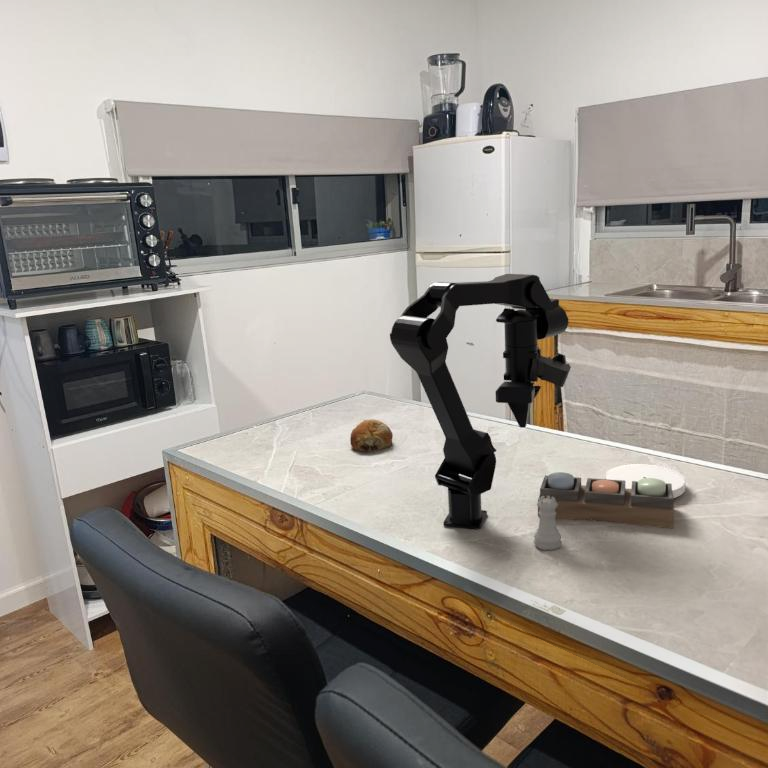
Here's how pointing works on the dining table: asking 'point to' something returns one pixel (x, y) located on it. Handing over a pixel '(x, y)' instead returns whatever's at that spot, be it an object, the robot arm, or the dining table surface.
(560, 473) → the slate-blue button
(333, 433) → the dining table surface
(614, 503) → the button panel
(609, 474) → the plastic lid
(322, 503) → the dining table surface
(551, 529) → the rook chess piece
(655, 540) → the dining table surface
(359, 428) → the bread roll
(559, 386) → the robot arm
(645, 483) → the sage button
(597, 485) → the terracotta button
